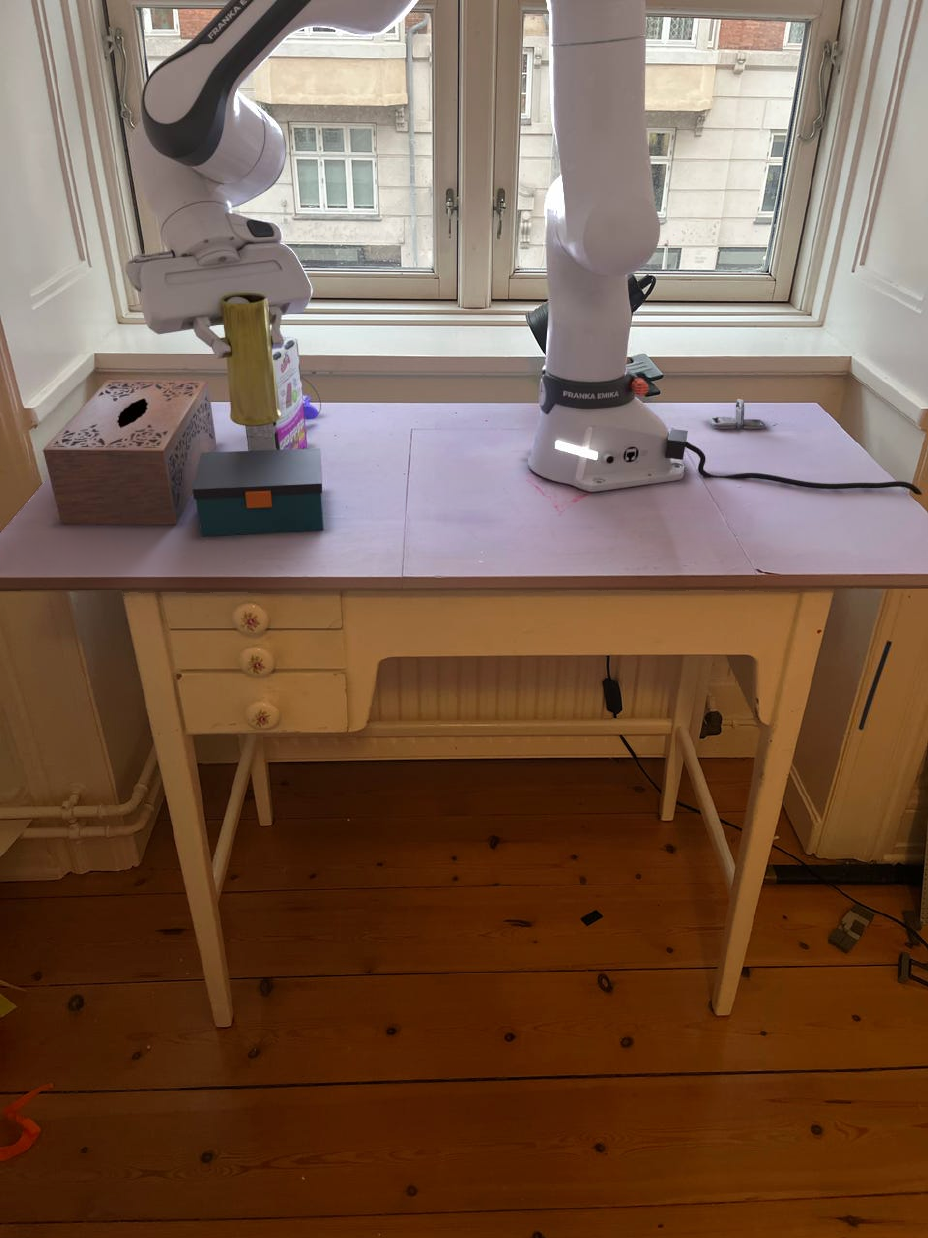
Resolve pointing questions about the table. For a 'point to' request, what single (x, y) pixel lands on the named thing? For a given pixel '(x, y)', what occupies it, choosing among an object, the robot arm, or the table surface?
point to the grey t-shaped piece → (739, 416)
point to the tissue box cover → (131, 453)
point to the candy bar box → (283, 405)
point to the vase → (250, 361)
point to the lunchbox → (259, 491)
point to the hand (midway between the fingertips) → (251, 350)
